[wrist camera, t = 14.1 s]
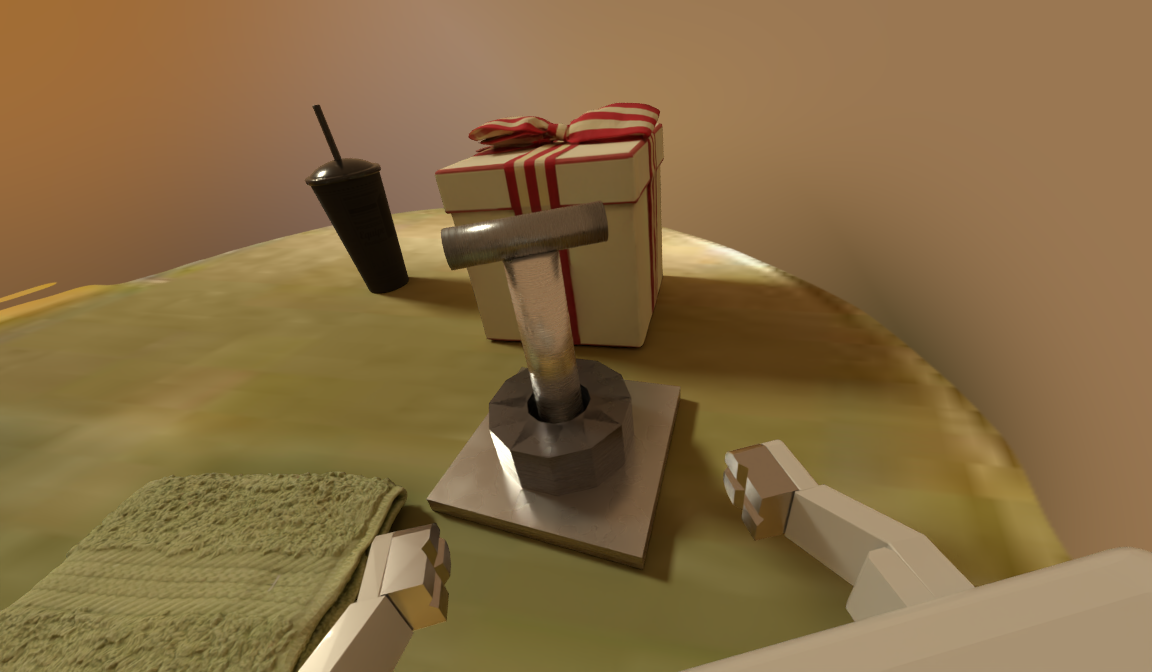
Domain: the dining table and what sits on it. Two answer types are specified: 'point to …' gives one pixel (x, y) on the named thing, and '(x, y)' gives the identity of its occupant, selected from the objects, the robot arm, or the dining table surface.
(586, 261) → the gift box
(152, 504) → the washcloth
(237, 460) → the dining table surface
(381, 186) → the drinking cup
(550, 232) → the chuck key
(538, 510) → the chuck socket
